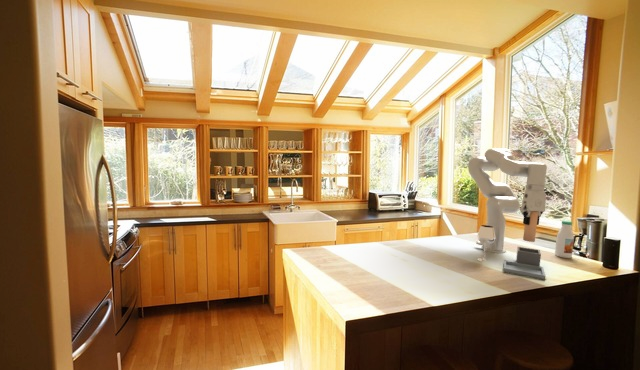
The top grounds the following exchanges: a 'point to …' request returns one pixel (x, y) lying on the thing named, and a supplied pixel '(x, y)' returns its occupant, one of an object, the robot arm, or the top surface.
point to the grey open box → (528, 256)
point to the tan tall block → (531, 227)
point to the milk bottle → (565, 240)
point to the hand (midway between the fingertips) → (530, 223)
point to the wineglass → (486, 237)
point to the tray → (524, 270)
